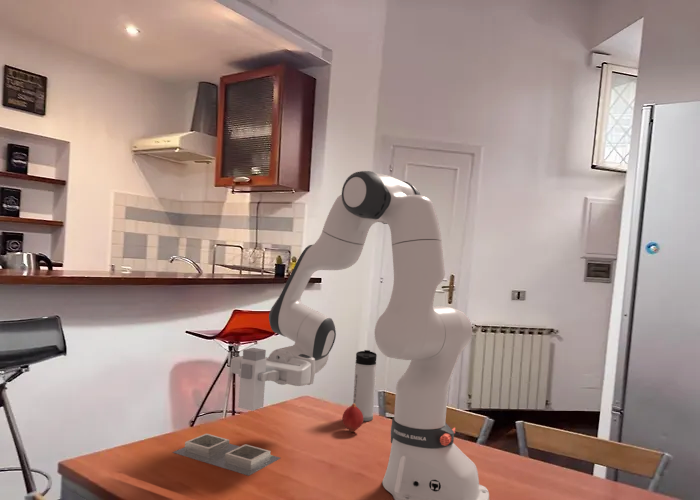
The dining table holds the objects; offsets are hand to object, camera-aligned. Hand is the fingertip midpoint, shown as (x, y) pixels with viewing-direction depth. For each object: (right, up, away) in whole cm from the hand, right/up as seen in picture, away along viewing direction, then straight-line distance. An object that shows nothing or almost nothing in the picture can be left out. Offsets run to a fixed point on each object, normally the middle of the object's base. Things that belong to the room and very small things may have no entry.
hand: (250, 375), depth 121 cm
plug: (0, -7, +1) cm, 7 cm away
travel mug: (+26, -23, +41) cm, 53 cm away
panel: (-6, -20, +3) cm, 21 cm away
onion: (+23, -22, +28) cm, 42 cm away
